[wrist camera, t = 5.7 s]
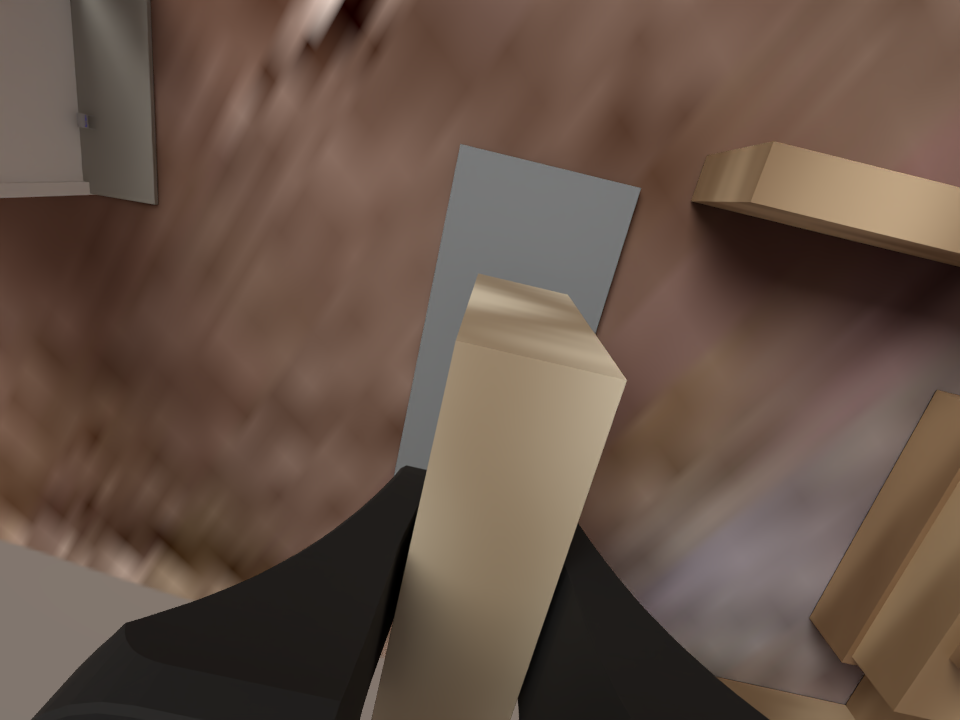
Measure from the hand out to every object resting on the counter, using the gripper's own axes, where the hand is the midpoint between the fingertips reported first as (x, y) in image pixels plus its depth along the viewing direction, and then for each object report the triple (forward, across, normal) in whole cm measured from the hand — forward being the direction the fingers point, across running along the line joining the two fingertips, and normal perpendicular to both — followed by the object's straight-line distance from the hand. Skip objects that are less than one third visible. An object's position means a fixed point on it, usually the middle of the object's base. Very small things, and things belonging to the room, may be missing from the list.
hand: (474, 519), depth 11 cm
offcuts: (+5, -14, 0) cm, 15 cm away
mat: (+5, 0, 0) cm, 5 cm away
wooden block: (+3, 0, 0) cm, 3 cm away
